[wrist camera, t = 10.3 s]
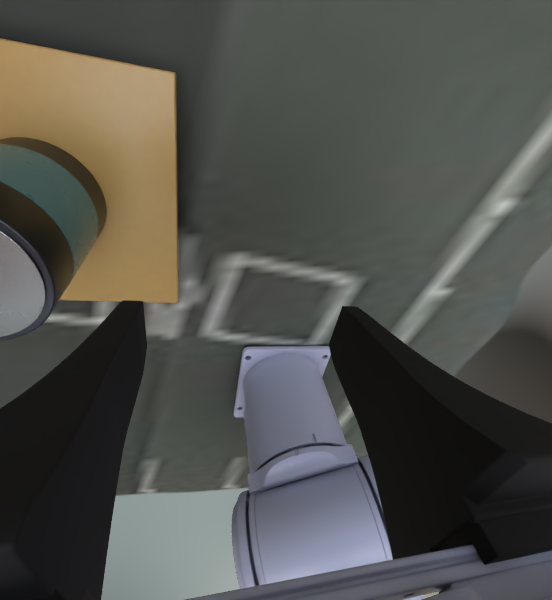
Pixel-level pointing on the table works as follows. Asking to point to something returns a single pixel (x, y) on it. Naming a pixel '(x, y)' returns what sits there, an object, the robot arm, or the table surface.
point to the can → (42, 229)
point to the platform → (106, 159)
